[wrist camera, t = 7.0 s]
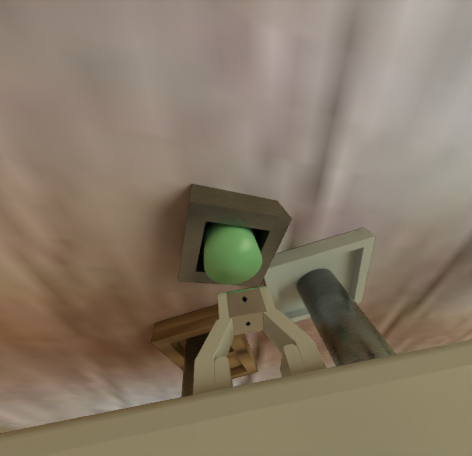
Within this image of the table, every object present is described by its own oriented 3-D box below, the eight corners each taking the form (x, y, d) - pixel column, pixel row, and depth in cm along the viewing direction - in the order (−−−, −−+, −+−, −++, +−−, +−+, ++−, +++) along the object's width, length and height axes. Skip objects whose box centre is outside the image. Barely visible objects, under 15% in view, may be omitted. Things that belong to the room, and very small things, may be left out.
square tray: (258, 259, 19) (262, 270, 17) (364, 227, 18) (375, 236, 17) (273, 316, 25) (277, 327, 24) (353, 292, 25) (361, 302, 23)
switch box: (191, 183, 14) (189, 201, 11) (277, 200, 15) (291, 218, 13) (181, 255, 17) (177, 281, 15) (252, 262, 19) (259, 286, 16)
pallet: (155, 323, 22) (150, 342, 20) (227, 301, 22) (229, 319, 20) (203, 370, 31) (203, 387, 29) (254, 355, 31) (258, 371, 29)
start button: (208, 208, 14) (210, 237, 11) (256, 216, 15) (270, 245, 12) (200, 248, 16) (199, 282, 13) (243, 252, 17) (252, 286, 14)
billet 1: (188, 329, 22) (169, 589, 10) (224, 329, 23) (246, 562, 11) (183, 348, 24) (164, 579, 12) (217, 347, 25) (229, 558, 13)
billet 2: (306, 266, 19) (459, 501, 8) (340, 270, 21) (517, 479, 9) (290, 294, 22) (389, 509, 10) (321, 295, 23) (443, 490, 11)
